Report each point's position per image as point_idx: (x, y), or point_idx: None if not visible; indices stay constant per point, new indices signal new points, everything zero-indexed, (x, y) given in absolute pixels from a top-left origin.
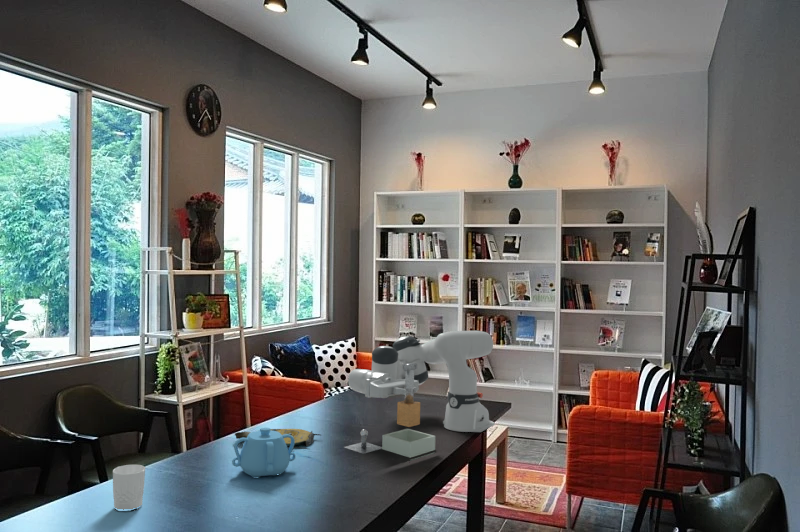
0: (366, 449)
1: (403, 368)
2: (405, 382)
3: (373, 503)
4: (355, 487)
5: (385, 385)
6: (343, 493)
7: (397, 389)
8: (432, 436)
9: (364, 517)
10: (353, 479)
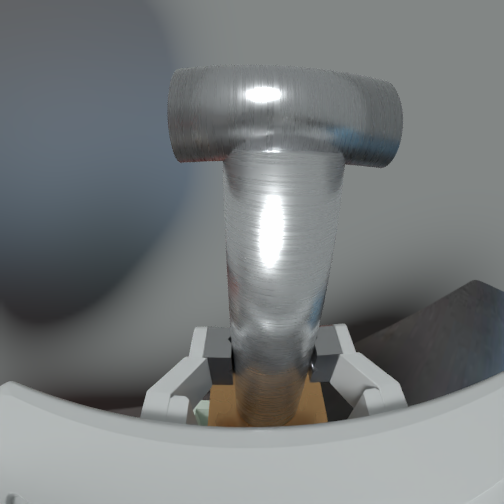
0: None
1: (392, 139)
2: (321, 307)
3: (460, 305)
4: (475, 353)
5: (490, 420)
6: (491, 342)
7: (383, 380)
8: (199, 402)
9: (472, 287)
10: (472, 382)
